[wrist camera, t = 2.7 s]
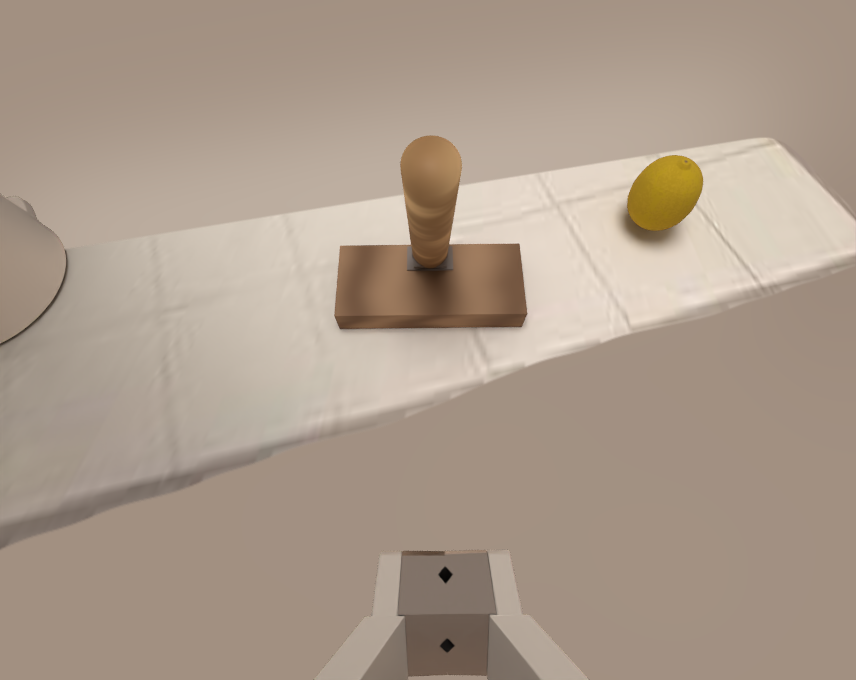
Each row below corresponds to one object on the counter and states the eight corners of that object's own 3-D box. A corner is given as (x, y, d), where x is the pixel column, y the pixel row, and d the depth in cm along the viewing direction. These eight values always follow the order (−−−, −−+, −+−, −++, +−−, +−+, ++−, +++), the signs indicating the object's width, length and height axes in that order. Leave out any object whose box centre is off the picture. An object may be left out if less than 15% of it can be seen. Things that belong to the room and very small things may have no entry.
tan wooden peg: (412, 271, 39) (400, 195, 22) (412, 237, 39) (400, 136, 22) (447, 270, 39) (462, 195, 22) (446, 236, 39) (461, 135, 22)
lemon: (614, 198, 45) (650, 133, 38) (670, 204, 45) (717, 139, 37) (615, 243, 43) (654, 183, 35) (674, 250, 42) (725, 191, 35)
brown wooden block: (339, 328, 39) (333, 314, 37) (345, 261, 42) (339, 244, 40) (521, 326, 39) (527, 312, 37) (514, 259, 42) (519, 242, 40)
